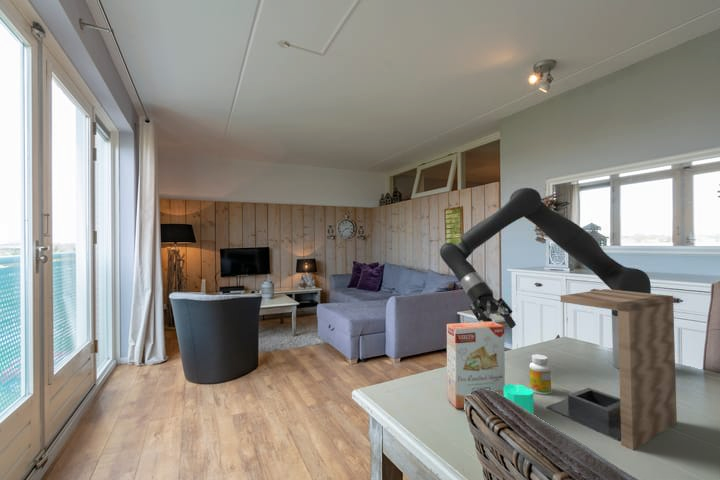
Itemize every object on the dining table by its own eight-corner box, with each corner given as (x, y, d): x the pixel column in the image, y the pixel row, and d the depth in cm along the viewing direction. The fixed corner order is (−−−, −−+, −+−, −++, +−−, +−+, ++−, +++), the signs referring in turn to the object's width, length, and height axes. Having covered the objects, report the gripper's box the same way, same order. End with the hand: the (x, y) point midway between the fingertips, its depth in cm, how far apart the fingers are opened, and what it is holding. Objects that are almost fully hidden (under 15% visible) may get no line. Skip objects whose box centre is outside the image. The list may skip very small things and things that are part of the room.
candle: (538, 447, 69) (537, 389, 69) (508, 444, 70) (506, 387, 70) (530, 430, 75) (528, 377, 75) (501, 428, 76) (500, 376, 76)
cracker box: (456, 410, 84) (455, 328, 84) (446, 399, 90) (445, 323, 90) (507, 405, 87) (505, 325, 87) (493, 394, 92) (492, 320, 93)
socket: (582, 394, 92) (582, 379, 92) (654, 420, 78) (653, 404, 78) (546, 408, 85) (545, 392, 85) (618, 440, 70) (617, 422, 70)
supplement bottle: (525, 387, 97) (525, 354, 97) (543, 386, 97) (542, 353, 97) (537, 395, 92) (536, 360, 92) (555, 394, 92) (554, 359, 92)
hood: (608, 398, 89) (605, 289, 89) (676, 423, 76) (673, 295, 77) (563, 418, 80) (560, 295, 80) (632, 449, 67) (628, 304, 68)
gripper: (466, 282, 110) (495, 324, 99) (496, 279, 116) (526, 319, 106) (455, 296, 114) (482, 338, 104) (484, 293, 121) (512, 331, 111)
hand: (504, 328), depth 105 cm, fingers open, 8 cm apart
